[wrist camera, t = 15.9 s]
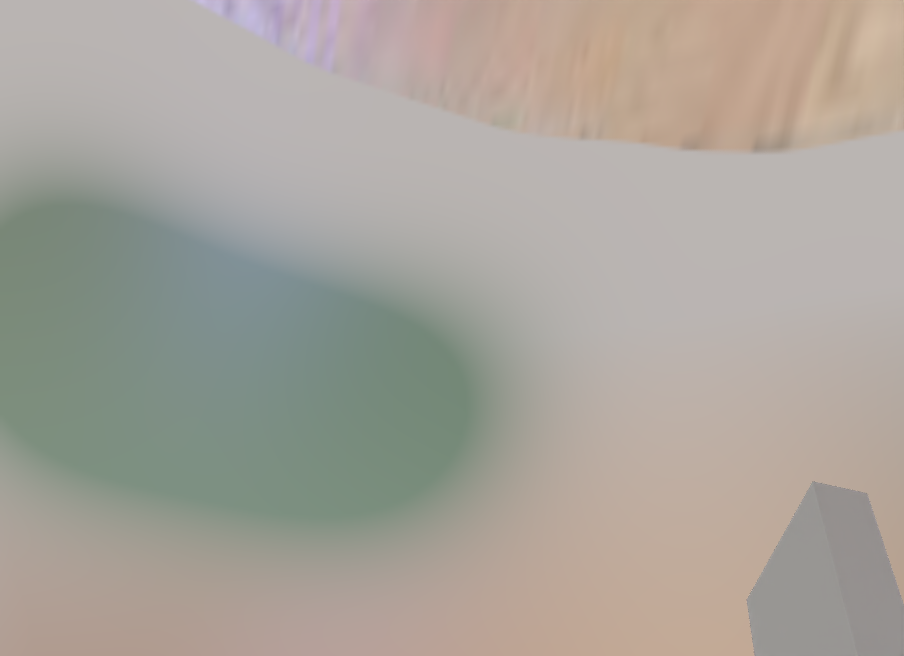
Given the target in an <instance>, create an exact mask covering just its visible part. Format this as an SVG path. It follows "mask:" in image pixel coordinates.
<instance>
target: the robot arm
mask: <svg viewBox="0 0 904 656" xmlns="http://www.w3.org/2000/svg"><path fill="white" fill-rule="evenodd" d="M747 605H748V612H749V619H750V626H751V633H752V640H753V647H754V654H755V656H904V604H903V601H902V598H901V595H900V592H899V589H898V586H897V583H896V580H895V577H894V574H893V571H892V568H891V565H890V561H889V558H888V555H887V553H886V549H885V546H884V543H883V540H882V537H881V534H880V531H879V528H878V525H877V522H876V519H875V516H874V513H873V510H872V507H871V504H870V501H869V498H868V495H867V493H863V492H859V491H854V490H849V489H845V488H841V487H836V486H831V485H827V484H822V483H817V482H812V484H811V486H810V488H809V489H808V491H807V493H806V495H805V496H804V498H803V500H802V502H801V504H800V505H799V507H798V509H797V511H796V512H795V514H794V516H793V518H792V520H791V521H790V524H789V525H788V527H787V529H786V531H785V532H784V534H783V536H782V538H781V539H780V541H779V543H778V545H777V546H776V549H775V550H774V552H773V554H772V556H771V557H770V559H769V561H768V563H767V565H766V566H765V568H764V570H763V572H762V573H761V575H760V577H759V579H758V580H757V582H756V584H755V586H754V588H753V589H752V591H751V593H750V595H749V597H748V599H747Z"/></svg>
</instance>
